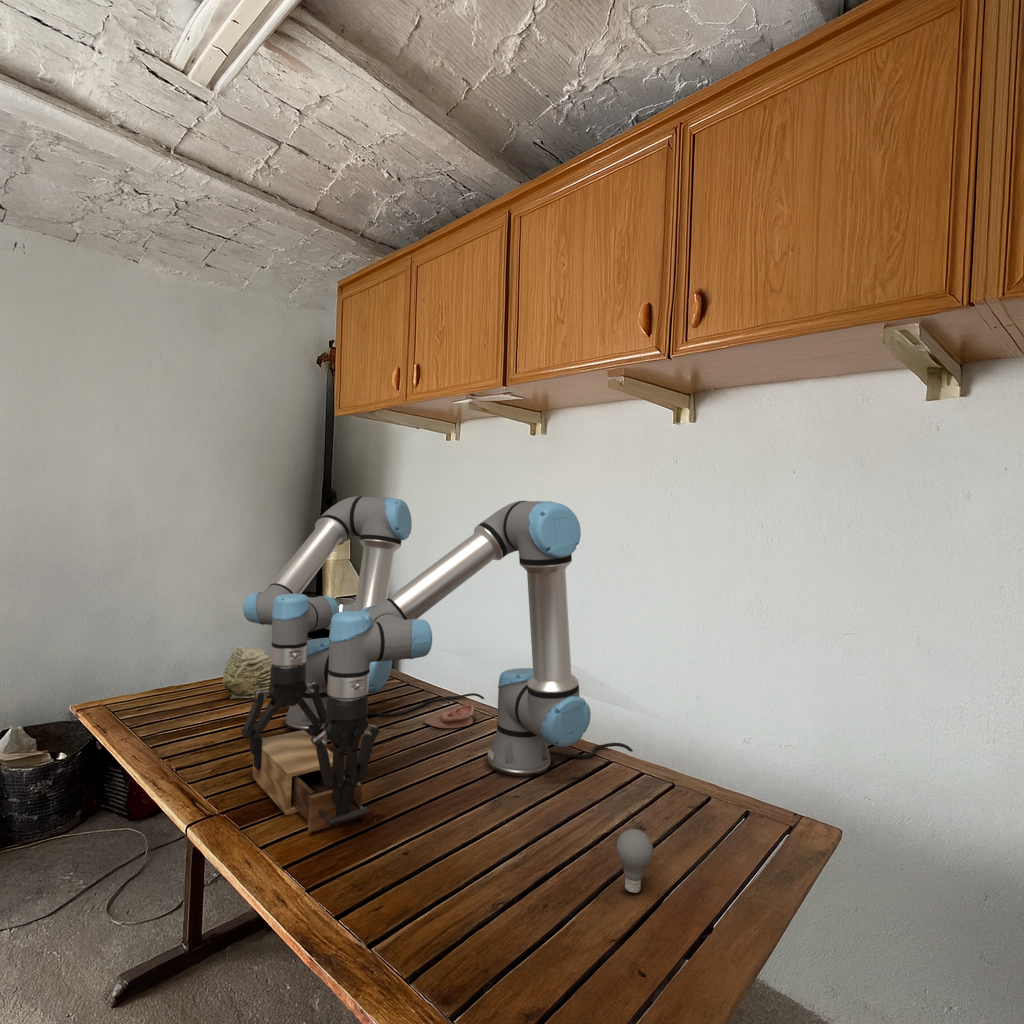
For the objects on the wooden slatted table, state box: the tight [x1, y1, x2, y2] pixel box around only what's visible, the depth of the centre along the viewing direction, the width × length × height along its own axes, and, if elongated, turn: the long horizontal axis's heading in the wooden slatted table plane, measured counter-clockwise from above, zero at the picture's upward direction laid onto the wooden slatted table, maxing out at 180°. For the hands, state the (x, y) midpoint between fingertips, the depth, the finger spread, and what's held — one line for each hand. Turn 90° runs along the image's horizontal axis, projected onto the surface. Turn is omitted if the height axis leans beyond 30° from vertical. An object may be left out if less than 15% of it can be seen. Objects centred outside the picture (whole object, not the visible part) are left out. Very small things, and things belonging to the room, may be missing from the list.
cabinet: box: [252, 730, 333, 816], centre depth 137 cm, size 20×11×8 cm, turn 40°
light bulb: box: [615, 828, 654, 894], centre depth 106 cm, size 6×6×10 cm
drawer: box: [291, 767, 370, 833], centre depth 126 cm, size 25×10×6 cm, turn 40°
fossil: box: [222, 646, 273, 699], centre depth 198 cm, size 9×18×15 cm, turn 132°
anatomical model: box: [424, 704, 475, 729], centre depth 181 cm, size 13×4×12 cm
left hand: (285, 761), depth 142 cm, fingers closed on cabinet, 11 cm apart
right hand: (342, 819), depth 119 cm, fingers closed
